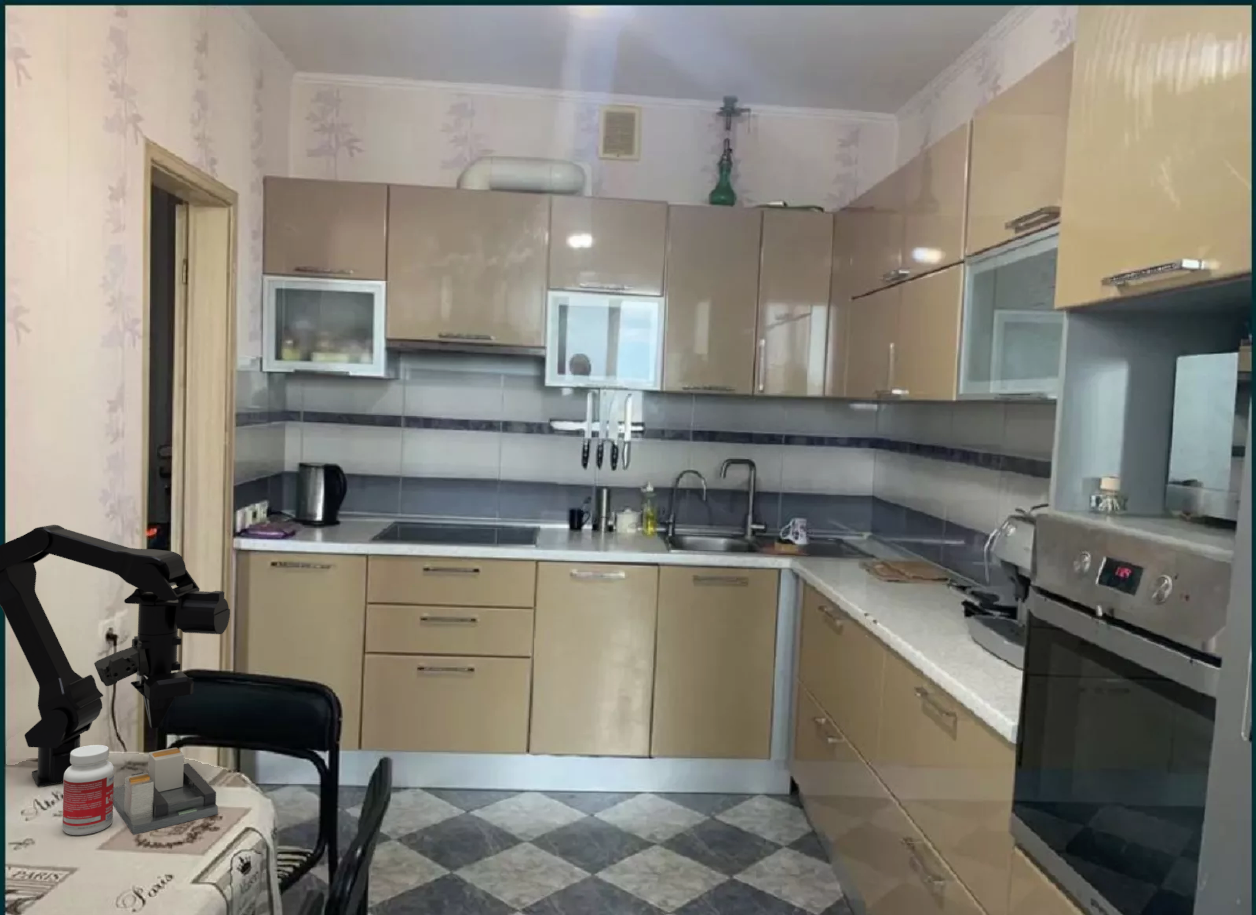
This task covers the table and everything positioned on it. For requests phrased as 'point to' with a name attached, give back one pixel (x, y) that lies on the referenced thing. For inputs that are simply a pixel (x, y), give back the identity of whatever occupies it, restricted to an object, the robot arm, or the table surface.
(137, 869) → the table surface
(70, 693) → the robot arm
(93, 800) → the pill bottle
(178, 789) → the grey desk organizer
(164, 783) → the block
